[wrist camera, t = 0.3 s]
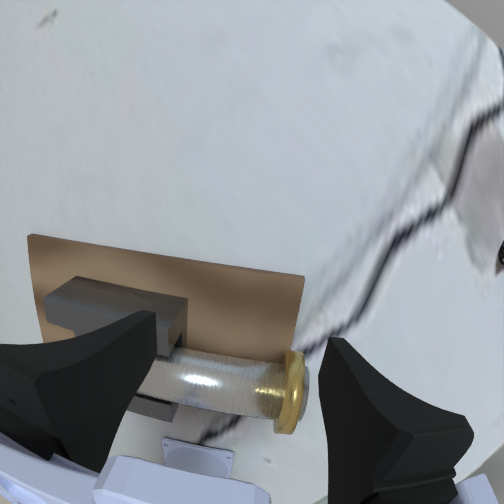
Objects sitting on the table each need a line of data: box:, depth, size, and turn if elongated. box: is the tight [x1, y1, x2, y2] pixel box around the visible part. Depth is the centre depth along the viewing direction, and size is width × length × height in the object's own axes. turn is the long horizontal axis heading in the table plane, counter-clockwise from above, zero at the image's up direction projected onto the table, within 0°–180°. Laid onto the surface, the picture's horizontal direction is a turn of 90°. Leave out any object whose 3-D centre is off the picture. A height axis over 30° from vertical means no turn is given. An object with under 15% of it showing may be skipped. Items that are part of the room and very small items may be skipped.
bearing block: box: [43, 276, 188, 423], centre depth 21 cm, size 9×10×5 cm
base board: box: [27, 234, 305, 419], centre depth 24 cm, size 14×24×1 cm, turn 83°
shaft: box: [81, 333, 309, 435], centre depth 20 cm, size 6×16×6 cm, turn 83°
